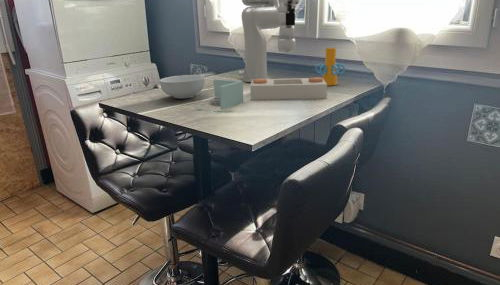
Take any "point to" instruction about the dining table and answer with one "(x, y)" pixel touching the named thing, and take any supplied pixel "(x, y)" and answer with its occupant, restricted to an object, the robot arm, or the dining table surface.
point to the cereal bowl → (182, 85)
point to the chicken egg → (259, 81)
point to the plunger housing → (288, 89)
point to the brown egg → (315, 79)
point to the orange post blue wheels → (330, 67)
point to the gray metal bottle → (285, 31)
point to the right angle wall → (227, 93)
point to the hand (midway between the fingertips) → (287, 24)
